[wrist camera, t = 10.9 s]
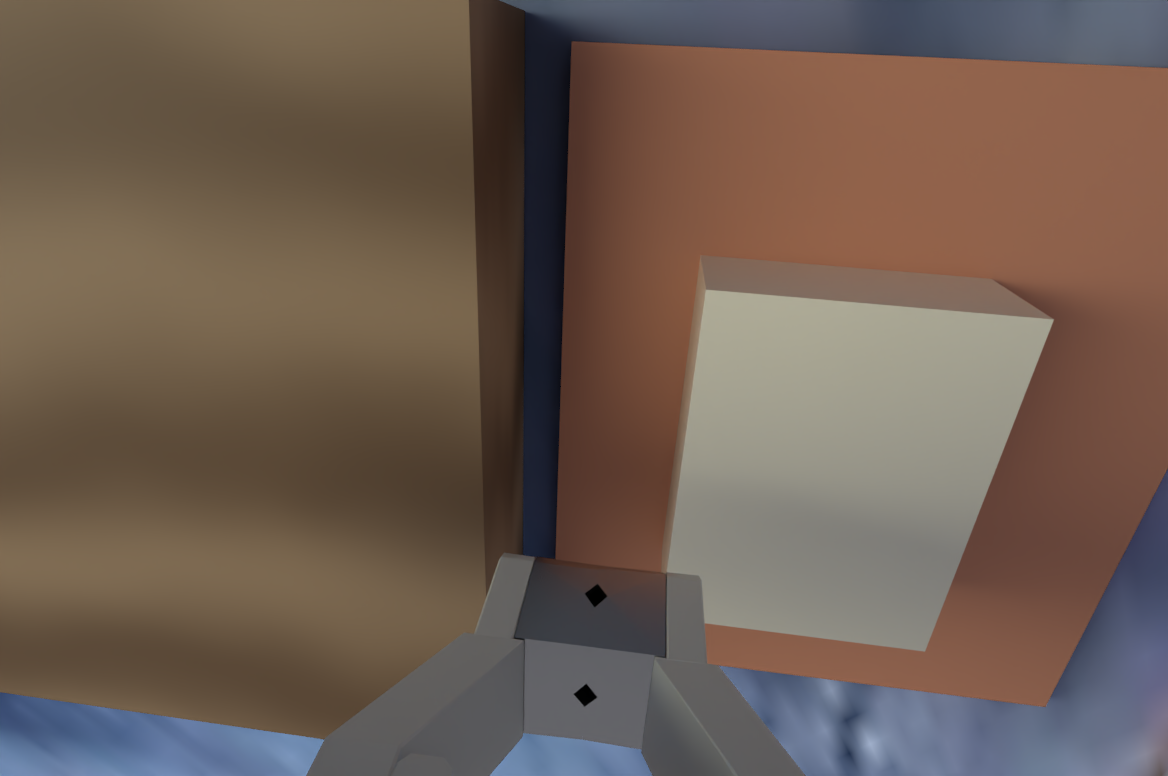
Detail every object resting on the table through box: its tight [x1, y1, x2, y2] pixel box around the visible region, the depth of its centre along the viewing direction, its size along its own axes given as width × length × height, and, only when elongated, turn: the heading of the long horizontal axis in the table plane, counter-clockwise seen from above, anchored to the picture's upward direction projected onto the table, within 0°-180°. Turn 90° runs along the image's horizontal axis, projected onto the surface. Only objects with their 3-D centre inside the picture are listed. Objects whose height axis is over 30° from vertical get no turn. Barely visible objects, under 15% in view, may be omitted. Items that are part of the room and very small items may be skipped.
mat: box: [555, 41, 1168, 707], centre depth 16 cm, size 16×14×1 cm
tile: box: [661, 255, 1054, 652], centre depth 15 cm, size 8×6×2 cm
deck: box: [0, 0, 525, 739], centre depth 15 cm, size 17×14×4 cm
